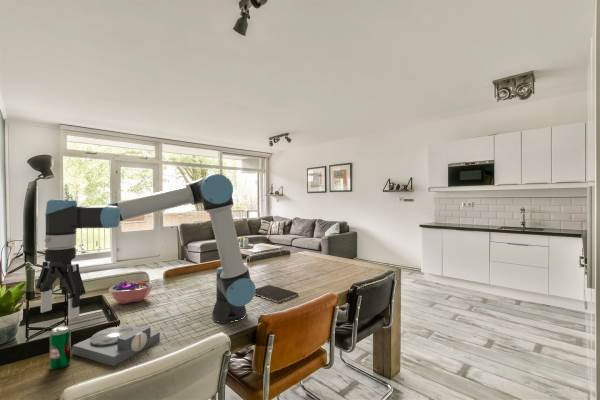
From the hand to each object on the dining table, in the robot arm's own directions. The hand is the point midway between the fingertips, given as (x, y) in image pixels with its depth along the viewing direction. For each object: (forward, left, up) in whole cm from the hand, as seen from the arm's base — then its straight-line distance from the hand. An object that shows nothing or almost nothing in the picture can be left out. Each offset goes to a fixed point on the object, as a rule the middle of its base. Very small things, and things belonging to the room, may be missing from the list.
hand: (59, 314), depth 90 cm
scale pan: (-3, -15, -14) cm, 21 cm away
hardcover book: (-34, -86, -17) cm, 94 cm away
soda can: (0, 0, -17) cm, 17 cm away
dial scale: (-6, -15, -17) cm, 23 cm away
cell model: (+30, -49, -17) cm, 60 cm away
